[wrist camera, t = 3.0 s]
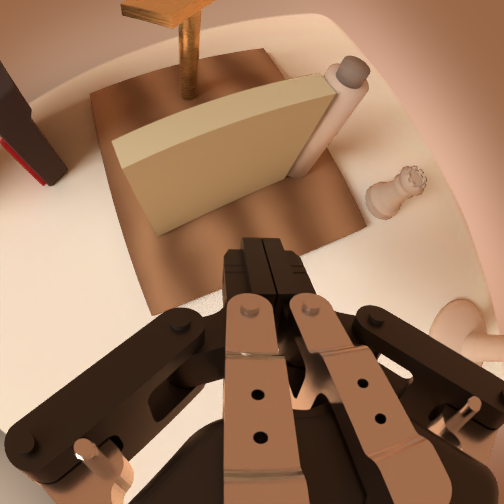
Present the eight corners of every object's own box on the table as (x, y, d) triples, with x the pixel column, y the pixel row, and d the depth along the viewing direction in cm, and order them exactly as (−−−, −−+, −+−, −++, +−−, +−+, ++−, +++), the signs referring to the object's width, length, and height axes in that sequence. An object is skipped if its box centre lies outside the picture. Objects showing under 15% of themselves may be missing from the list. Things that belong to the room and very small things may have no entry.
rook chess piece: (379, 180, 35) (416, 151, 27) (399, 210, 35) (439, 187, 27) (356, 195, 34) (392, 166, 26) (377, 227, 33) (418, 205, 26)
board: (153, 315, 28) (151, 315, 26) (92, 99, 31) (90, 93, 30) (361, 229, 33) (366, 226, 32) (261, 54, 37) (263, 48, 35)
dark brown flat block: (14, 142, 28) (-40, 74, 14) (38, 120, 30) (-9, 45, 15) (46, 192, 28) (-25, 123, 14) (73, 167, 29) (15, 84, 15)
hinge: (299, 148, 32) (358, 48, 17) (314, 172, 32) (386, 79, 17) (146, 213, 28) (101, 118, 13) (160, 242, 28) (118, 164, 13)
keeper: (180, 145, 32) (172, 16, 15) (145, 127, 31) (120, 3, 15) (214, 104, 33) (229, -18, 16) (181, 89, 33) (179, -30, 16)
